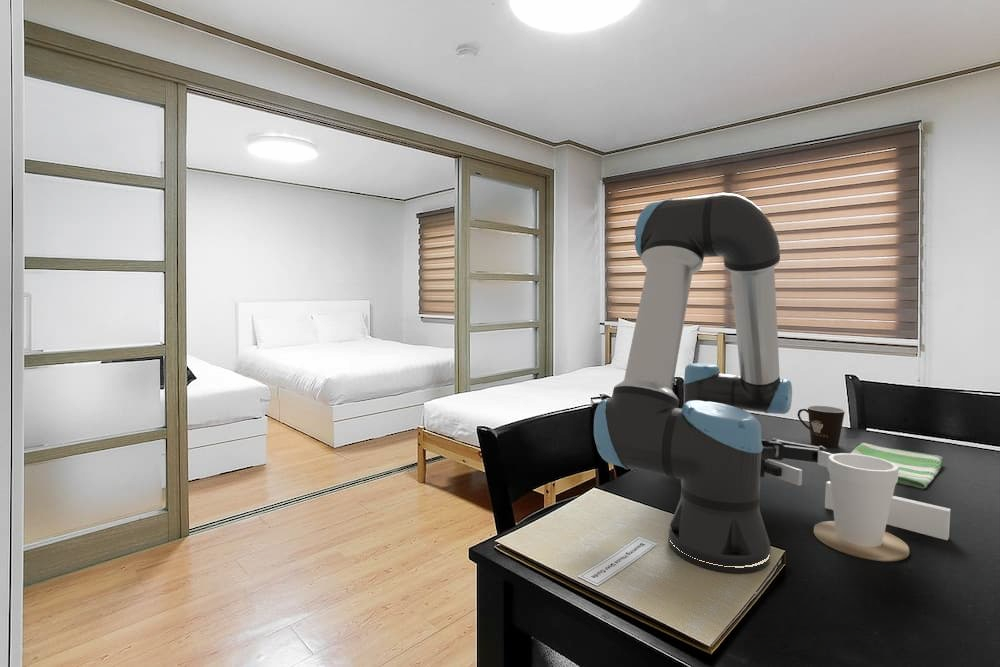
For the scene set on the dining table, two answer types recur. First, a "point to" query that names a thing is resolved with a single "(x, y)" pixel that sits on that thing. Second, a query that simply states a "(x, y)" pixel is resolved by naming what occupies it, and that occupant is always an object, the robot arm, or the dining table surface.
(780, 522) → the dining table surface
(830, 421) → the coffee mug
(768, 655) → the dining table surface
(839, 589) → the dining table surface
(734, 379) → the robot arm
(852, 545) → the cork coaster
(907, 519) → the low wall
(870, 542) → the foam cup
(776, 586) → the dining table surface
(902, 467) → the dish towel
